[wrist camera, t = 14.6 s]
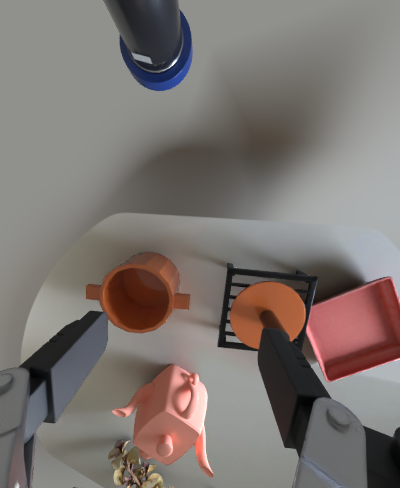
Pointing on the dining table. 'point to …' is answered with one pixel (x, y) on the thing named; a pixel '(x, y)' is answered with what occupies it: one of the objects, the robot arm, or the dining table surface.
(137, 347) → the dining table surface
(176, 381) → the teapot
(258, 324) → the lid
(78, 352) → the robot arm
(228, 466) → the dining table surface
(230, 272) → the rack
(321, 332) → the plant saucer
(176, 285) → the pot
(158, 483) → the artificial flower
